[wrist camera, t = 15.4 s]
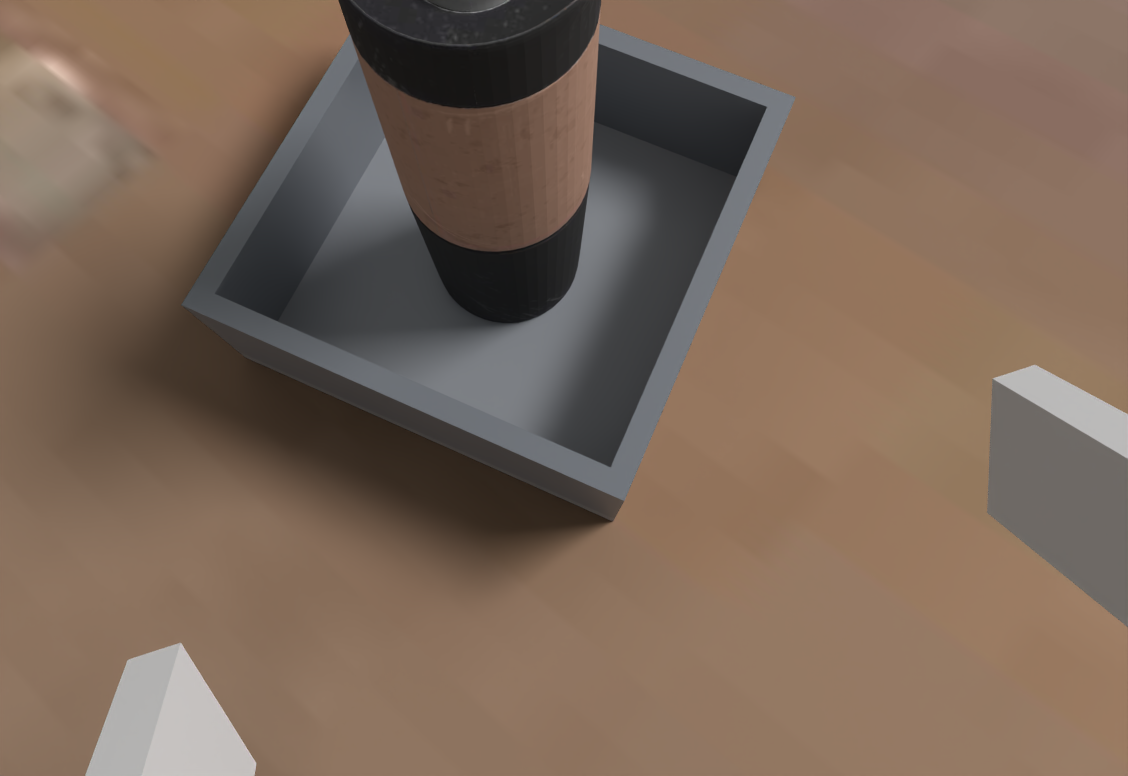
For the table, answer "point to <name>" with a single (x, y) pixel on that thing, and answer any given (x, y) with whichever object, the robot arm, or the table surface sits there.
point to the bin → (481, 347)
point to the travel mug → (488, 137)
